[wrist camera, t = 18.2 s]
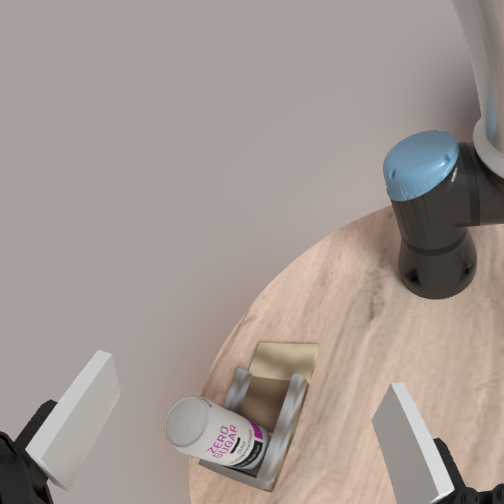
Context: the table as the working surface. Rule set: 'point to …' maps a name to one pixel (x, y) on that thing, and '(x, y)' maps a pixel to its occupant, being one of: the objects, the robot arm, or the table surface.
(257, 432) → the supplement can
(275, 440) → the rectangular tray
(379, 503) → the table surface
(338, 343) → the table surface
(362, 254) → the table surface
